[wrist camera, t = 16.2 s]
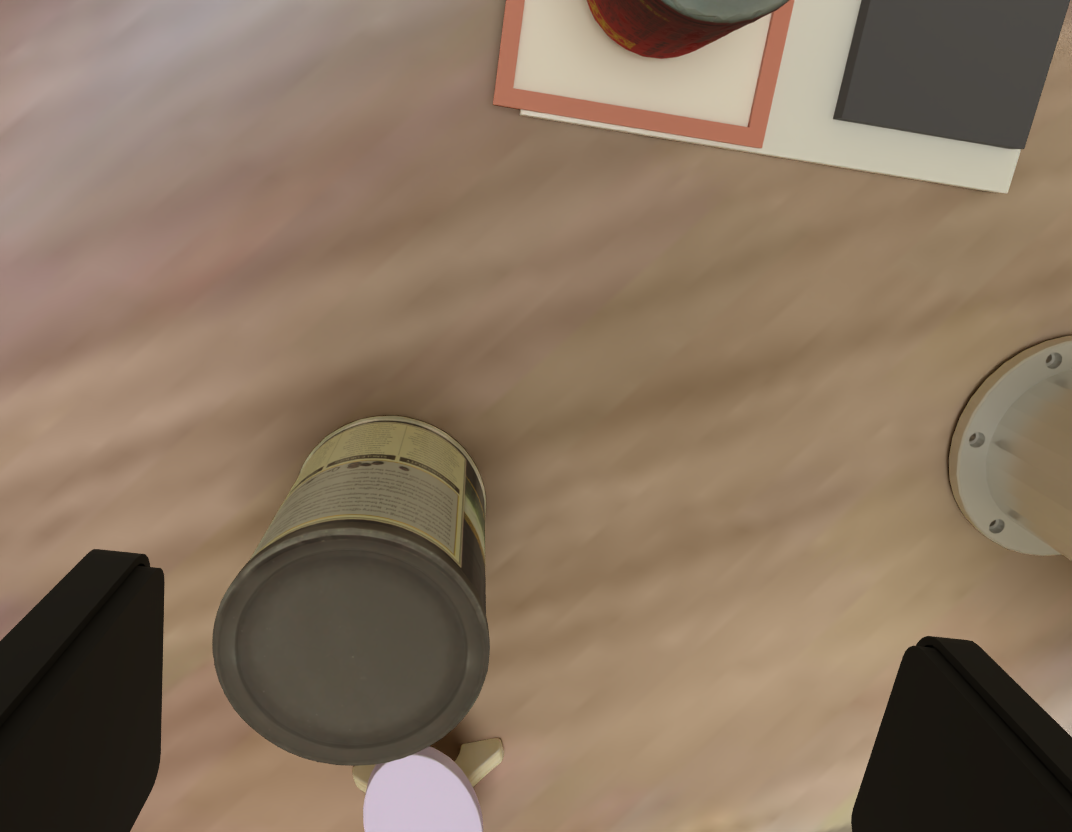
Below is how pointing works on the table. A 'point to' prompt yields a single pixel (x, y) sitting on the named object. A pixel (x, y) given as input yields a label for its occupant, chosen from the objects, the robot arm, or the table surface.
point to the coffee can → (363, 600)
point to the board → (818, 138)
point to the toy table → (427, 790)
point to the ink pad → (951, 67)
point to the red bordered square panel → (639, 74)
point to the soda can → (675, 22)
